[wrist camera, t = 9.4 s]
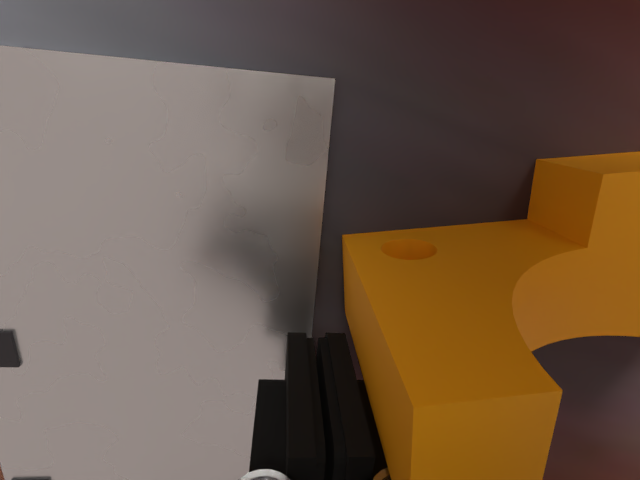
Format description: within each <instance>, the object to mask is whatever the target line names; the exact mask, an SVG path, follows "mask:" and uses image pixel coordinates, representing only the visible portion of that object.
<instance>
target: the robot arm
mask: <svg viewBox="0 0 640 480" xmlns="http://www.w3.org/2000/svg"><path fill="white" fill-rule="evenodd" d="M238 480H391V477H390V473H389V470H388V466H387V462H386V459H385V455H384V451H383V448H382V444H381V441H380V437H379V433H378V430H377V426H376V422H375V419H374V415H373V412H372V408H371V404H370V401H369V397H368V393H367V390H366V386H365V383H364V380H356V376H355V372H354V368H353V364H352V360H351V356H350V352H349V348H348V344H347V340H346V336H345V334H344V333H326V335H325V338H319V339H318V348H317V358H316V356H315V347H314V339H313V338H307V334H306V333H304V332H288V335H287V350H286V366H285V380H277V379H259V381H258V390H257V399H256V409H255V418H254V428H253V437H252V447H251V456H250V466H249V473H247V474H246V475H244V476H243V477H241V478H240V479H238Z"/></svg>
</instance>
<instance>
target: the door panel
mask: <svg viewBox="0 0 640 480" xmlns="http://www.w3.org/2000/svg"><path fill="white" fill-rule="evenodd" d="M334 86H335V79H333V78H323V77H313V76H303V75H293V74H283V73H273V72H263V71H252V70H242V69H232V68H222V67H212V66H202V65H192V64H182V63H171V62H161V61H151V60H141V59H131V58H121V57H111V56H101V55H91V54H80V53H70V52H60V51H50V50H40V49H30V48H20V47H10V46H0V466H1V469H2V472H3V475H4V478H5V480H238V479H240V478H241V477H243V476H244V475H246V474H247V473H249V466H250V456H251V447H252V437H253V428H254V418H255V409H256V399H257V390H258V381H259V379H277V380H285V366H286V350H287V335H288V332H304V333H306V334H307V338H312V328H313V317H314V306H315V295H316V284H317V273H318V262H319V251H320V240H321V229H322V218H323V207H324V196H325V185H326V174H327V163H328V152H329V141H330V130H331V119H332V108H333V97H334Z"/></svg>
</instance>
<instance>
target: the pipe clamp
mask: <svg viewBox="0 0 640 480" xmlns="http://www.w3.org/2000/svg"><path fill="white" fill-rule="evenodd" d="M342 249H343V274H344V299H345V314H346V317H347V321H348V325H349V328H350V332H351V335H352V339H353V343H354V346H355V350H356V354H357V357H358V361H359V364H360V368H361V372H362V375H363V379H364V383H365V386H366V390H367V393H368V397H369V401H370V404H371V408H372V412H373V415H374V419H375V422H376V426H377V430H378V433H379V437H380V441H381V444H382V448H383V451H384V455H385V459H386V462H387V466H388V470H389V473H390V477H391V480H542V479H543V475H544V470H545V466H546V461H547V457H548V453H549V448H550V444H551V440H552V435H553V431H554V427H555V422H556V418H557V414H558V409H559V405H560V401H561V396H562V392H563V390H562V389H561V388H560V387H559V386H558V385H557V383H556V382H555V381H554V380H553V379H552V378H551V377H550V376H549V374H548V373H547V372H546V371H545V370H544V369H543V368H542V366H541V365H540V364H539V362H538V361H537V359H536V358H535V357H534V355H533V354H532V351H534V350H535V349H538V348H540V347H542V346H545V345H547V344H550V343H554V342H557V341H561V340H566V339H571V338H577V337H587V336H606V335H611V336H634V337H640V151H639V152H626V153H613V154H600V155H586V156H573V157H560V158H547V159H536V164H535V171H534V177H533V184H532V190H531V197H530V203H529V210H528V216H527V219H522V220H511V221H499V222H487V223H475V224H464V225H452V226H440V227H428V228H417V229H405V230H393V231H381V232H370V233H358V234H346V235H342Z"/></svg>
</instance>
